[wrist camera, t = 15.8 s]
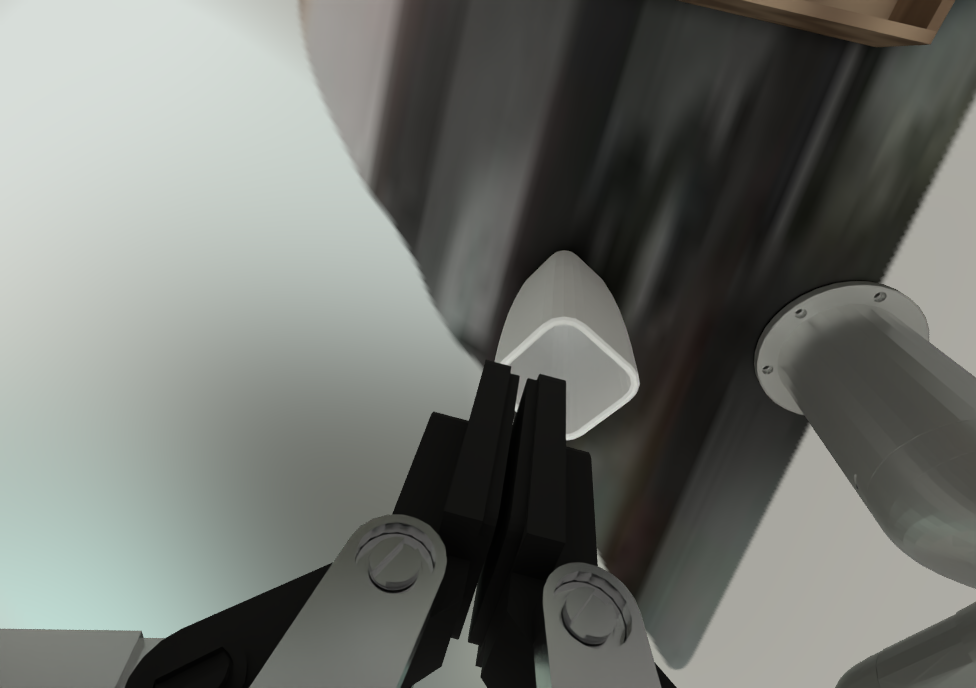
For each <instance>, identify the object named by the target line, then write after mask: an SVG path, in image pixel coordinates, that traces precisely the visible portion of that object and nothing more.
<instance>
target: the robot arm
mask: <svg viewBox="0 0 976 688" xmlns="http://www.w3.org/2000/svg"><path fill="white" fill-rule="evenodd" d="M797 310H798V311H797ZM754 367H755V373H756V376H757V378H758V381H759V383H760V385H761V387H762V388H763V390H764V391H765V393H766V394H767V395H768V396H769V397H770V398H771V399H772V400H773V401H774V402H775V403H776V404H778V405H779V406H781V407H783V408H784V409H786V410H789V411H791V412H794V413H796V414H800V415H805V417H806V418H807V420H808V421H809V423H810V424H811V426H812V427H813V429H814V430H815V432H816V433H817V434H818V436H819V437H820V439H821V440H822V442H823V443H824V445H825V446H826V448H827V449H828V451H829V452H830V453H831V455H832V456H833V458H834V459H835V461H836V462H837V463H838V465H839V467H840V468H841V469H842V471H843V472H844V474H845V475H846V477H847V478H848V480H849V481H850V483H851V484H852V486H853V487H854V489H855V490H856V492H857V493H858V494H859V496H860V497H861V499H862V500H863V502H864V503H865V505H866V506H867V508H868V509H869V511H870V512H871V513H872V514H873V516H874V518H875V519H876V521H877V522H878V524H879V525H880V527H881V528H882V530H883V531H884V532H885V534H886V535H887V536H888V537H889V538H890V540H892V542H893V543H894V544H895V545H896V546H897V547H898V548H899V549H901V550H902V551H903V552H904V553H905V554H907V555H908V556H909V557H911V558H912V559H913V560H915V561H916V562H918V563H919V564H921V565H922V566H924V567H926V568H928V569H930V570H932V571H934V572H936V573H938V574H940V575H942V576H944V577H946V578H949V579H952V580H954V581H956V582H959V583H961V584H964V585H966V586H969V587H972V588H975V589H976V378H975V377H974V376H973V375H972V374H970V373H969V372H968V371H966V370H965V369H964V368H962V367H961V366H960V365H958V364H957V363H956V362H954V361H953V360H952V359H951V358H949V357H948V356H947V355H945V354H944V353H943V352H941V351H940V350H939V349H937V348H936V347H935V346H934V345H932V344H931V343H930V342H929V328H928V324H927V321H926V317H925V316H924V314H923V312H922V311H921V309H920V308H919V307H918V305H916V304H915V303H914V302H913V301H912V300H911V299H910V298H909V297H907V296H905V295H904V294H902V293H901V292H899V291H898V290H896V289H894V288H891V287H889V286H886V285H884V284H879V283H874V282H868V281H849V282H842V283H835V284H831V285H828V286H824V287H821V288H817V289H815V290H813V291H811V292H809V293H806V294H804V295H802V296H800V297H799V298H797V299H796V300H794V301H793V302H791V303H789V304H788V305H787V306H785V307H784V308H783V309H782V310H781V311H780V312H779V313H777V314H776V315H775V316H774V318H773V319H772V320H771V321H770V322H769V324H768V325H767V326H766V327H765V329H764V331H763V333H762V335H761V336H760V338H759V340H758V343H757V347H756V350H755V357H754ZM510 372H511V366H508V365H505V364H501V363H497V362H493V361H489V360H486V361H485V365H484V369H483V372H482V376H481V379H480V383H479V387H478V390H477V394H476V397H475V401H474V405H473V408H472V412H471V415H470V419H469V421H467V420H463V419H459V418H455V417H452V416H448V415H444V414H440V413H437V412H433V413H432V414H431V417H430V419H429V422H428V424H427V427H426V429H425V432H424V434H423V437H422V440H421V442H420V445H419V447H418V450H417V452H416V455H415V458H414V460H413V463H412V465H411V468H410V470H409V473H408V475H407V478H406V480H405V483H404V486H403V488H402V491H401V493H400V496H399V498H398V501H397V503H396V506H395V509H394V511H393V514H392V515H384V516H381V517H377V518H373V519H372V520H370V521H368V522H366V523H365V524H363V525H361V526H360V527H359V528H358V529H357V530H356V531H355V532H354V533H353V534H352V536H351V537H350V538H349V540H348V541H347V543H346V544H345V546H344V547H343V549H342V550H341V552H340V553H339V554H338V556H337V558H336V559H335V560H334V562H333V563H331V564H328V565H326V566H324V567H321V568H319V569H317V570H315V571H312V572H310V573H308V574H306V575H303V576H301V577H299V578H297V579H294V580H292V581H290V582H288V583H285V584H283V585H281V586H279V587H276V588H274V589H271V590H269V591H267V592H265V593H262V594H260V595H258V596H256V597H253V598H251V599H249V600H247V601H244V602H242V603H240V604H238V605H235V606H233V607H231V608H228V609H226V610H224V611H221V612H219V613H217V614H214V615H212V616H210V617H208V618H205V619H203V620H201V621H199V622H196V623H194V624H192V625H190V626H187V627H185V628H183V629H181V630H179V631H177V632H175V633H174V634H172V635H170V636H169V637H167V638H143V634H142V631H109V630H45V629H42V630H41V629H0V688H413V686H414V684H415V683H416V682H418V681H420V680H421V679H423V678H425V677H426V676H428V675H429V674H431V673H432V672H434V671H435V670H437V669H438V668H440V667H441V666H442V663H443V660H444V657H445V653H446V650H447V647H448V644H449V641H450V638H454V639H459V637H460V634H461V631H462V628H463V625H464V622H465V619H466V616H467V613H468V610H469V607H470V604H471V601H472V598H473V595H474V592H475V589H476V586H477V590H476V596H475V601H474V607H473V613H472V619H471V625H470V630H469V637H468V642H469V643H473V644H476V645H479V646H478V653H477V659H476V666H478V667H482V671H481V678H482V680H483V682H484V683H485V685H486V686H487V688H676V686H675V685H674V684H673V683H672V682H671V681H670V680H669V678H668V677H667V676H666V675H665V674H664V673H663V671H662V670H661V669H660V668H659V667H658V666H657V665H656V663H655V662H654V659H653V656H652V652H651V649H650V645H649V641H648V637H647V634H646V630H645V627H644V623H643V619H642V616H641V613H640V611H639V608H638V606H637V603H636V601H635V599H634V597H633V596H632V595H631V593H630V592H629V591H628V589H627V588H626V586H625V585H624V584H623V583H621V582H620V581H619V580H618V579H617V578H616V577H615V576H614V575H612V574H611V573H609V572H607V571H605V570H604V569H602V568H600V567H598V564H597V547H596V531H595V514H594V498H593V481H592V464H591V456H590V454H589V452H585V451H581V450H577V449H574V448H570V447H566V381H565V380H562V379H558V378H554V377H551V376H547V375H543V374H539V376H538V378H537V380H534V379H530V378H528V379H527V381H526V384H525V387H524V390H523V393H522V397H521V400H520V403H519V406H518V409H517V413H516V416H515V419H514V422H513V418H514V412H515V405H516V399H517V392H518V386H519V379H520V376H519V375H515V374H511V373H510ZM477 583H478V584H477ZM835 688H976V602H974V603H973V604H971V605H969V606H967V607H966V608H964V609H962V610H960V611H958V612H957V613H956V614H955V615H953V616H951V617H949V618H947V619H945V620H943V621H941V622H939V623H937V624H935V625H933V626H931V627H928V628H926V629H924V630H922V631H920V632H918V633H916V634H914V635H912V636H910V637H908V638H906V639H904V640H902V641H900V642H898V643H896V644H894V645H892V646H890V647H887V648H885V649H884V650H883V651H881V652H879V653H877V654H875V655H872V656H870V657H868V658H867V659H865V660H863V661H862V662H860V663H858V664H856V665H855V666H853V667H852V668H851V669H850V670H848V671H847V672H846V673H845V674H844V675H843V676H842V677H841V679H840V680H839V682H838V684H837V685H836V687H835Z"/></svg>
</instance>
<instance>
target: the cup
mask: <svg viewBox="0 0 976 688" xmlns="http://www.w3.org/2000/svg"><path fill="white" fill-rule="evenodd" d="M495 362H497V363H501V364H505V365H508V366H511V372H510V373H511V374H515V375H519V376H520V379H519V386H518V392H517V399H516V405H515V411H516V412H517V409H518V406H519V403H520V400H521V397H522V393H523V390H524V387H525V384H526V381H527V379H528V378H530V379H534V380H537V378H538V376H539V374H543V375H547V376H551V377H554V378H558V379H562V380H565V381H566V440H572V439H575V438H577V437H579V436H582V435H583V434H585V433H586V432H587V431H589V430H590V429H592V428H593V427H594V426H596V425H597V424H598V423H600V422H601V421H603V420H604V419H605V418H607V417H608V416H609V415H611V414H612V413H614V412H615V411H616V410H618V409H619V408H620V407H622V406H623V405H625V404H626V403H627V402H629V401H630V400H631V399H632V398H633V397H634V395H635V394H636V393H637V390H638V387H639V384H640V383H639V377H638V372H637V367H636V363H635V359H634V355H633V351H632V346H631V343H630V340H629V336H628V333H627V329H626V326H625V324H624V321H623V318H622V316H621V313H620V310H619V308H618V306H617V304H616V302H615V300H614V298H613V296H612V294H611V292H610V291H609V289H608V287H607V286H606V284H605V283H604V281H603V280H602V279H601V278H600V277H599V276H598V275H597V274H596V273H595V272H594V271H593V270H592V269H591V268H590V267H589V266H587V265H586V264H585V263H584V262H583V261H582V260H581V259H580V258H579V257H578V256H577V255H576V254H574V253H572V252H571V251H565V250H563V251H558V252H556V253H554V254H553V255H551V256H550V257H549V258H548V259H547V260H546V261H545V262H544V263H543V264H542V265H541V266H540V267H539V268H538V269H537V270H536V271H535V272H534V273H533V274H532V275H531V276H530V277H529V278H528V279H527V280H526V281H525V283H524V284H523V286H522V287H521V289H520V291H519V293H518V294H517V296H516V298H515V300H514V302H513V304H512V306H511V309H510V311H509V313H508V316H507V319H506V322H505V325H504V327H503V331H502V334H501V338H500V341H499V345H498V349H497V353H496V357H495Z"/></svg>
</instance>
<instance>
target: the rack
mask: <svg viewBox="0 0 976 688" xmlns="http://www.w3.org/2000/svg"><path fill="white" fill-rule="evenodd" d="M677 1H682V2H686V3H690V4H694V5H699V6H703V7H707V8H711V9H716V10H720V11H724V12H728V13H733V14H737V15H741V16H745V17H750V18H754V19H758V20H762V21H767V22H771V23H775V24H779V25H784V26H788V27H792V28H796V29H801V30H805V31H809V32H813V33H818V34H822V35H826V36H830V37H835V38H839V39H843V40H848V41H852V42H856V43H860V44H865V45H869V46H873V47H889V46H908V45H927V44H931V42H932V40H933V39H934V37H935V35H936V33H937V32H938V30H939V28H940V26H941V24H942V23H943V21H944V19H945V17H946V16H947V14H948V12H949V10H950V8H951V7H952V5H953V3H954V1H955V0H677Z"/></svg>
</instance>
